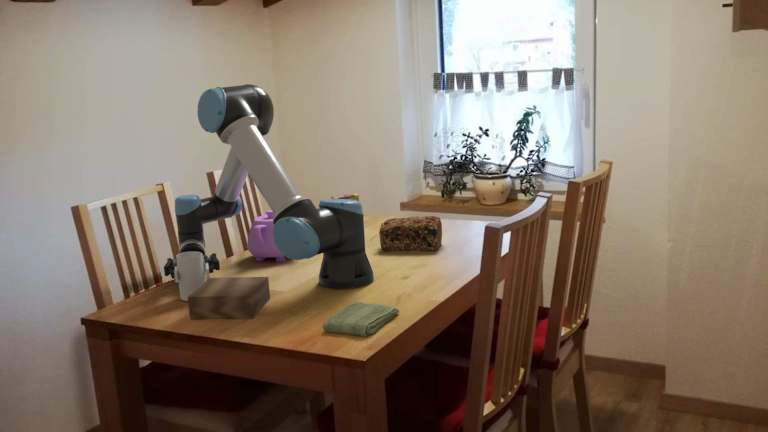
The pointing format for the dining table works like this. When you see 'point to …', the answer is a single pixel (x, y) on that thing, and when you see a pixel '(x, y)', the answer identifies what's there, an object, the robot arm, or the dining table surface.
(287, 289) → the dining table surface
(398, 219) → the bread
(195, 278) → the mug
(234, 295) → the walnut block
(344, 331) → the washcloth
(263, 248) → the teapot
